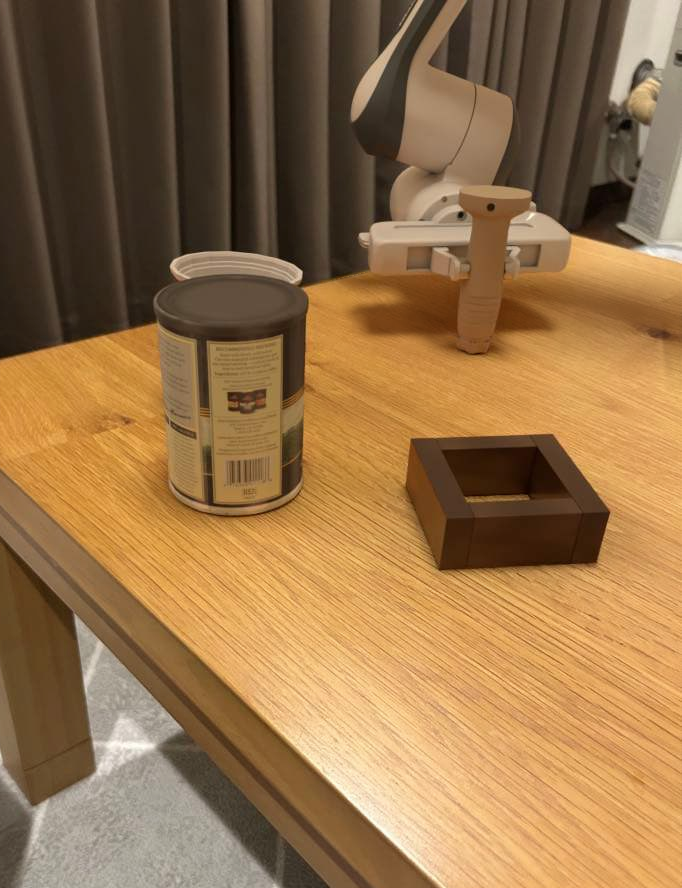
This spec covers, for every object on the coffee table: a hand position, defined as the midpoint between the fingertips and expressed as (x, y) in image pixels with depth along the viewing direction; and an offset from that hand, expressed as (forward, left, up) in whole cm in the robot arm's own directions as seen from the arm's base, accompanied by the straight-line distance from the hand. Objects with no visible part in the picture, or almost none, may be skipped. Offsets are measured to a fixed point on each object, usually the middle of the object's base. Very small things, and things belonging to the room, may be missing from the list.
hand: (487, 272), depth 82 cm
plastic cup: (+24, +9, -8) cm, 27 cm away
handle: (0, -1, -8) cm, 8 cm away
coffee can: (+25, +23, -8) cm, 35 cm away
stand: (+7, +30, -8) cm, 32 cm away
